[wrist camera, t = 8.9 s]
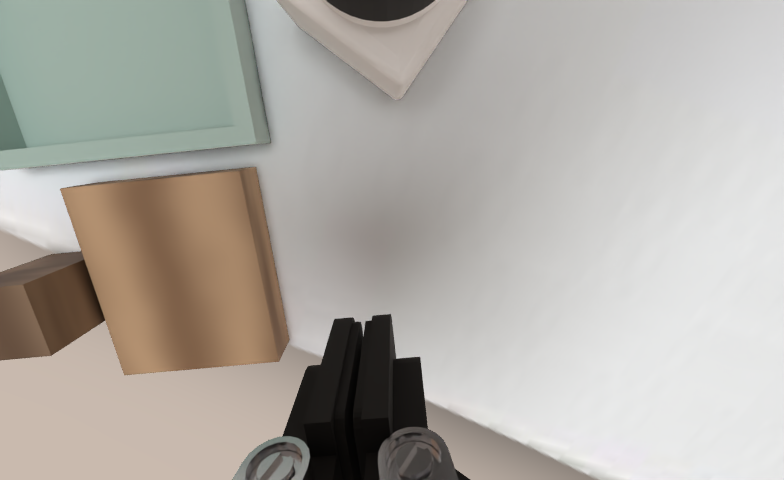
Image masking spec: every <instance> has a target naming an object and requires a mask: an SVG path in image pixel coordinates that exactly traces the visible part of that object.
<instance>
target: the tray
mask: <svg viewBox="0 0 784 480" xmlns="http://www.w3.org/2000/svg"><path fill="white" fill-rule="evenodd" d="M264 143H271V141H270V136H269V130H268V125H267V119H266V114H265V109H264V103H263V98H262V92H261V87H260V81H259V76H258V70H257V65H256V59H255V54H254V49H253V43H252V38H251V32H250V27H249V21H248V16H247V10H246V5H245V0H0V171H1V170H12V169H23V168H33V167H43V166H52V165H62V164H72V163H81V162H91V161H100V160H110V159H120V158H129V157H139V156H149V155H158V154H168V153H177V152H187V151H197V150H206V149H216V148H226V147H235V146H245V145H255V144H264Z"/></svg>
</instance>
